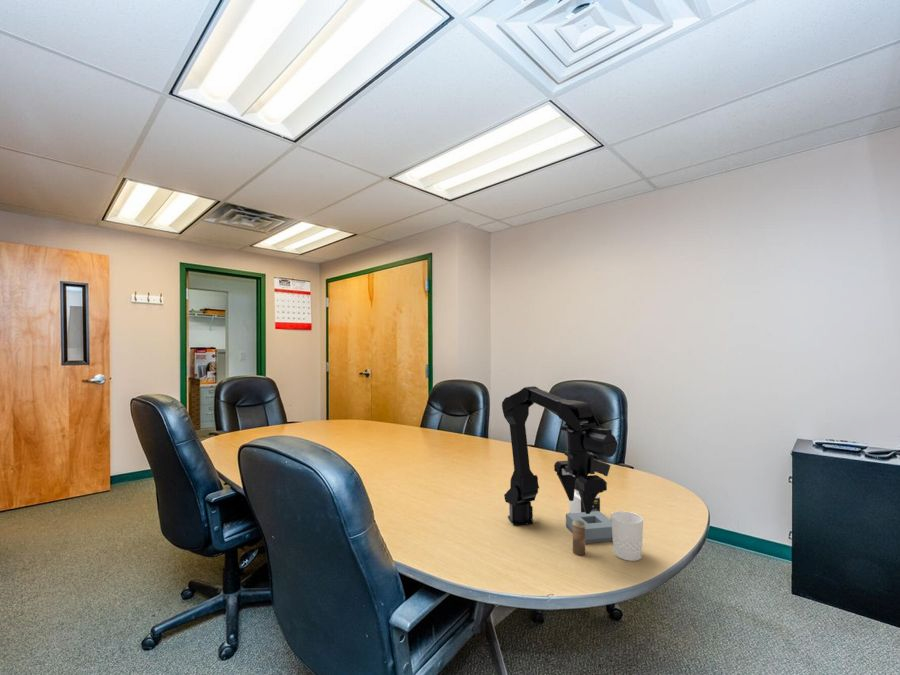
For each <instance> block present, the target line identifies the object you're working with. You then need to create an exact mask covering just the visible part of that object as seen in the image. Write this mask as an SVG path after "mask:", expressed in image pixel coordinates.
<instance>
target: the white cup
mask: <svg viewBox="0 0 900 675" xmlns="http://www.w3.org/2000/svg"><path fill="white" fill-rule="evenodd" d="M610 520H611V524H612V537H613V541H612V544H613V553H614V555H615V556H616V557H618V558H619V559H622V560H624V561H629V562H635V561H639V560H641V558H642V556H643V555H642V553H643V552H642V551H643V549H642V548H643V537H644V536H643V533H644V528H643V527H644V518H643V517H642V516H641V515H639V514H637V513H635V512H631V511H625V510H617V511H613V512H611V513H610Z"/></svg>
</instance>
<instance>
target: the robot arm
mask: <svg viewBox="0 0 900 675" xmlns="http://www.w3.org/2000/svg"><path fill="white" fill-rule="evenodd" d="M534 404H536V405H539V406H540V407H542V408H544V409H547V410H549V411H551V412H553V413H554V414H556V415H557V416H558V418H559V419H560V420H561V421H563V422H564V425H562V426H561V427H560V430H561V431H564V432H566V447H567V448H566V449H567V450H564V456H566V457H567V458H566V460H556V461H555V463H554V464H553V467H554V468H553V469H554V472H556V476H557V477H558V479H559V481H560V483H561V486H562V488H563V489H564V492H565V494H566V496H567V498H568V501H569V500H570V501H573V500H574V491H575V481H576V479H577V478H578V486H579V488H578V491H579V495H580V498H581V501H582V504H583V507H584V510H585V513H586V514H590V512H591V509H592V506H593V503H594V500H595V498H596V496H599V495H598V494H601V493H604V492H605V491H606V492H607V490H608V483H607V481H606V480H605V479H604V478H602V477H601V476H599V475H597V474H600V475H603V476H604V477H608V475H609V472H610V469H611V467H612V466H611V464H609V463H607V462H605V461H604V460H601V459H599V456H603V457H606V458H611V457H613V456H614V455H615V454H616V453H617V450H618V441H617V438H616V436H615V435H614V434H612V429H610V428H602V426H601V424H600V423H599V421H598V419H597V417H596V416H595V414H594V412H593V411H592V408H591V404H589V403H588V402H586V401H580V400H575V399H572V400H571V399H565V398H562V397H560V396H558V395H555V394H552V393H550V392H547V391H546V390H543V389H541V388H539V387H537V386H535V385H533V386H532V385H531V386H525V387H523V388H521V389H520V390H519V391H517V392H515V393H513V394H511V395H510V396H508V397H507V396H506V397H505V398H504V400H503V401H502V403H501V410H502V414H503V417H504V418H505V420H506V422H507V423H508V425H509V433H510V442H511V451H512V452H511V453H512V461H513V472H512V475H511V477H510V485H509V486H510V488H509V489H508V490H507V491H506V492H505V494H504V495H503V497H504V501H505V503H507V504H509V515H507V518H508V520H509V521H510V522H511V524H512V525H513V526H522V525H533V524H534V521H533V519H534V518H533V516H534V514H533V513H534V512H533V510H534V509H533V506H532V502H534V501H536V496H537V495H538V493H539V489H540V486H539V477H538V475H537V474H534V473H533V472H532V470H531V468H530V457H529V449H528V439H527V428H526V422H527V420H528V417H529V414H530V413H529V412H530V409H529V408H530V407H532V406H533V405H534ZM595 473H596V474H595Z"/></svg>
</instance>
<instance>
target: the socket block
mask: <svg viewBox="0 0 900 675" xmlns="http://www.w3.org/2000/svg"><path fill="white" fill-rule="evenodd" d="M574 520H580V521H583V522H584V523H585V544H591V543H592V544H593V543H602V542H603V543H604V542H605V543H606V542H613V537H612V524H611V518H609V517H608V516H606V515H605V514H604V513H603V512H601V510H600V511H593V512H590V514H586V513H585V512H580V513H570V512H569V513H568V512H567V513H565V527H566V528H567V529H568V531H570V532H571V534H573V525H572V522H573V521H574Z"/></svg>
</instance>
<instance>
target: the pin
mask: <svg viewBox="0 0 900 675" xmlns="http://www.w3.org/2000/svg"><path fill="white" fill-rule="evenodd" d="M572 525H573V533H572V553H573V554H574V555H576V556H579V557H581V556H582V557H583V556H585V555H586V543H585V523H584V522H583V521H580V520H574V521H573V522H572Z"/></svg>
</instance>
